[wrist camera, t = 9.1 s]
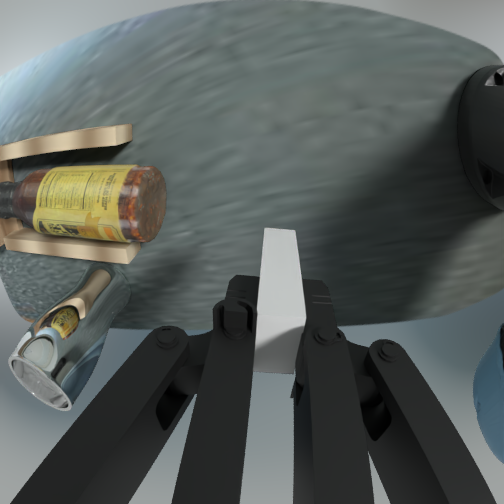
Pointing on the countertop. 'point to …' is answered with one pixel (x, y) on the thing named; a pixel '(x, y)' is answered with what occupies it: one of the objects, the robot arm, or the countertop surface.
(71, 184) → the sauce bottle
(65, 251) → the bracket
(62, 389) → the beer glass
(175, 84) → the countertop surface
